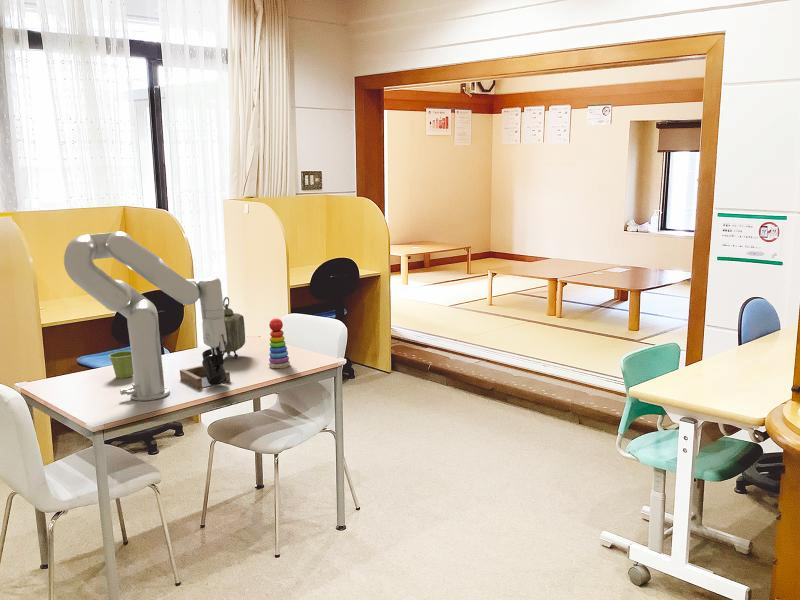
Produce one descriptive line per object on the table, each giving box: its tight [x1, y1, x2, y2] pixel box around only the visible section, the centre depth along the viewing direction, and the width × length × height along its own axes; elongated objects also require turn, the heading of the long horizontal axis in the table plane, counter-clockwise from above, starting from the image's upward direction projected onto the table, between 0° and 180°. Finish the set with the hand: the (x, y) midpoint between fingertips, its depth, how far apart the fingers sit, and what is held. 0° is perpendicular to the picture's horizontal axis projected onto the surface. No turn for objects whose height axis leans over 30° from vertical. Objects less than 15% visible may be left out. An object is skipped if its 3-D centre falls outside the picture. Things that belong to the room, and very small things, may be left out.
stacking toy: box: [268, 318, 291, 369], centre depth 274 cm, size 8×8×19 cm
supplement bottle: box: [201, 348, 227, 386], centre depth 254 cm, size 7×7×12 cm
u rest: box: [179, 364, 231, 390], centre depth 260 cm, size 12×16×4 cm
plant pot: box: [108, 350, 134, 379], centre depth 268 cm, size 9×9×9 cm
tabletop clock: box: [223, 296, 246, 359], centre depth 288 cm, size 14×9×25 cm, turn 177°
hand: (218, 364), depth 251 cm, fingers closed
